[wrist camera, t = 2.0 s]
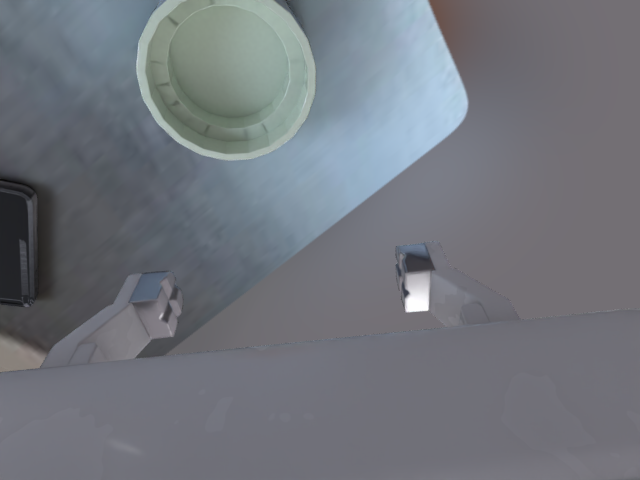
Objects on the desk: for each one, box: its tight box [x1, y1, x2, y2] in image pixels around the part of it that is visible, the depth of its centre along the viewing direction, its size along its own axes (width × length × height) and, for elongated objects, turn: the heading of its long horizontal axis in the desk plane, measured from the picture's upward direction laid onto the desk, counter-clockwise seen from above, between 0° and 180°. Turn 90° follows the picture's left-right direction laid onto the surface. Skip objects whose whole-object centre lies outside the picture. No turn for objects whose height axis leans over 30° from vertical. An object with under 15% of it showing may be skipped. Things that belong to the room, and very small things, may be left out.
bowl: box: [136, 0, 316, 160], centre depth 32 cm, size 12×12×5 cm
